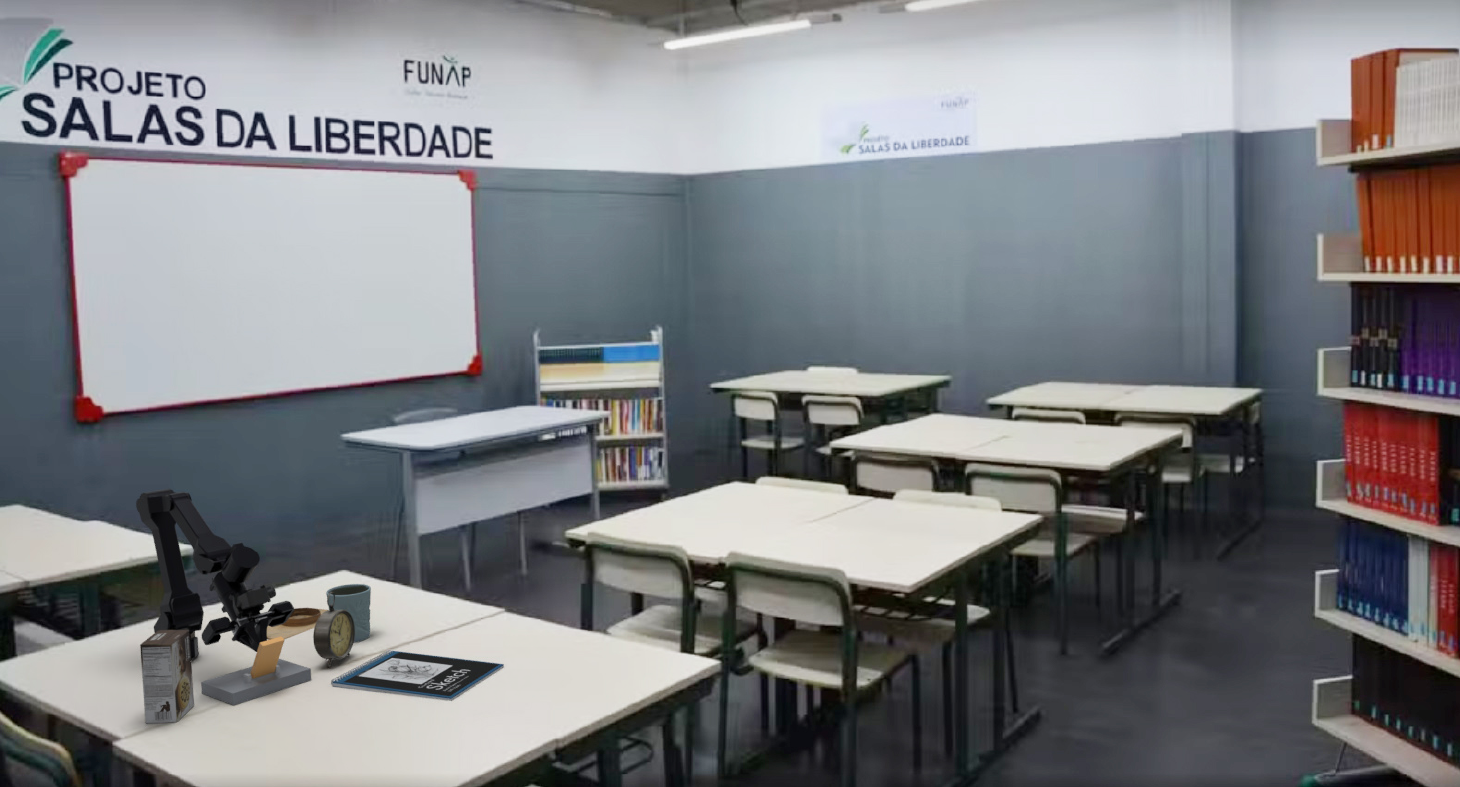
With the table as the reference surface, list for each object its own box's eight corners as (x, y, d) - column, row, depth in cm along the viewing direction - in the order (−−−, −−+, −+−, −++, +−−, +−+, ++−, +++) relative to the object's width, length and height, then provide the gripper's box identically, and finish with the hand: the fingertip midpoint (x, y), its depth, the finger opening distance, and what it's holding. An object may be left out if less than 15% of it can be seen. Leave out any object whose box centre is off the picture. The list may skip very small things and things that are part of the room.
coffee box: (162, 706, 233) (157, 629, 231) (195, 705, 233) (190, 628, 232) (143, 724, 224) (138, 643, 222) (177, 722, 224) (172, 642, 223)
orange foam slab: (249, 675, 241) (259, 642, 237) (271, 668, 245) (281, 636, 241) (252, 678, 240) (262, 646, 237) (274, 672, 244) (284, 639, 241)
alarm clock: (332, 670, 253) (328, 599, 252) (310, 669, 254) (306, 598, 253) (357, 654, 264) (354, 586, 262) (336, 653, 265) (333, 585, 263)
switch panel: (201, 693, 240) (200, 675, 240) (279, 669, 255) (278, 651, 254) (233, 705, 233) (232, 686, 233) (311, 679, 248) (310, 661, 247)
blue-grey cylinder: (381, 635, 278) (379, 587, 277) (347, 646, 270) (345, 597, 269) (353, 629, 284) (351, 581, 283) (319, 640, 275) (317, 591, 274)
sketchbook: (451, 704, 234) (451, 694, 234) (328, 689, 244) (328, 679, 244) (504, 669, 255) (503, 660, 254) (388, 656, 264) (388, 647, 264)
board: (307, 609, 304) (306, 597, 303) (352, 615, 298) (352, 603, 297) (233, 637, 281) (232, 624, 280) (281, 644, 275) (280, 630, 274)
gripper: (206, 583, 235) (238, 645, 229) (287, 564, 250) (320, 622, 244) (187, 613, 240) (218, 675, 235) (268, 593, 255) (299, 651, 250)
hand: (266, 655), depth 241 cm, fingers closed, pressing on orange foam slab
